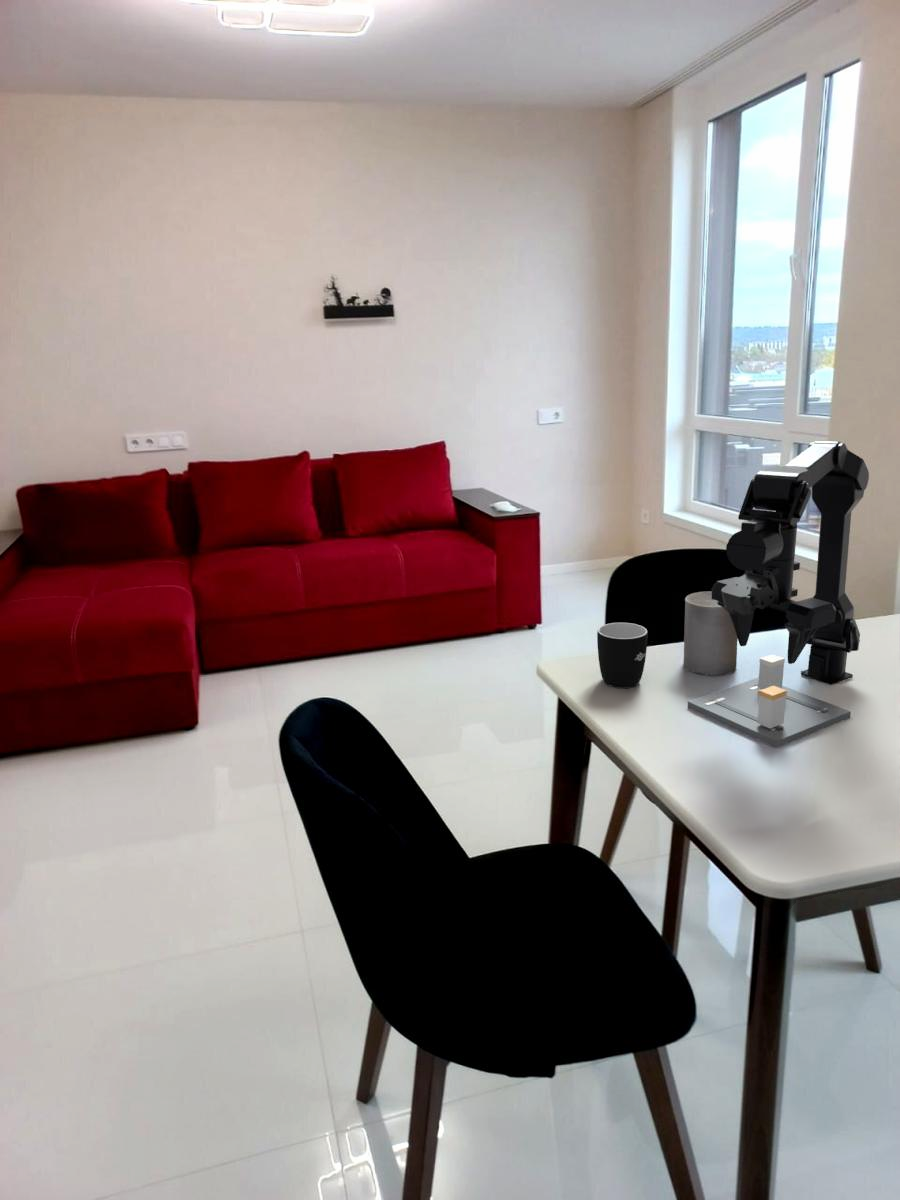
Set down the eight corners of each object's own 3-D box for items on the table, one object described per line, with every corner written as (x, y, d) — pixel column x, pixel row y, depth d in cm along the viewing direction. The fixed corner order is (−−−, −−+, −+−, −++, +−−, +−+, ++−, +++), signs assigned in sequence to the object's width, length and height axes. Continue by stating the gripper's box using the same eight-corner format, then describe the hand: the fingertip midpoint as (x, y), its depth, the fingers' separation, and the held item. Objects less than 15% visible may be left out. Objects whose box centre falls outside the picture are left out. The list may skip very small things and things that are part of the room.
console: (759, 683, 148) (759, 676, 147) (850, 718, 133) (851, 710, 132) (687, 707, 139) (688, 700, 139) (776, 748, 124) (776, 740, 124)
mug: (638, 694, 145) (640, 641, 142) (590, 687, 149) (590, 635, 147) (655, 670, 155) (657, 620, 152) (610, 664, 160) (610, 615, 157)
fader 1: (770, 683, 143) (772, 654, 142) (782, 688, 141) (784, 658, 140) (757, 688, 142) (759, 658, 140) (769, 693, 140) (771, 662, 138)
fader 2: (770, 717, 131) (773, 685, 129) (784, 723, 128) (786, 690, 127) (756, 723, 129) (759, 690, 127) (770, 728, 127) (772, 695, 125)
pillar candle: (721, 655, 162) (724, 582, 157) (745, 673, 152) (749, 596, 148) (674, 660, 160) (676, 587, 156) (695, 678, 151) (698, 601, 147)
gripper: (687, 552, 125) (683, 647, 130) (788, 578, 110) (779, 685, 114) (739, 542, 130) (734, 634, 135) (843, 565, 114) (832, 668, 119)
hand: (766, 654), depth 126 cm, fingers open, 9 cm apart
